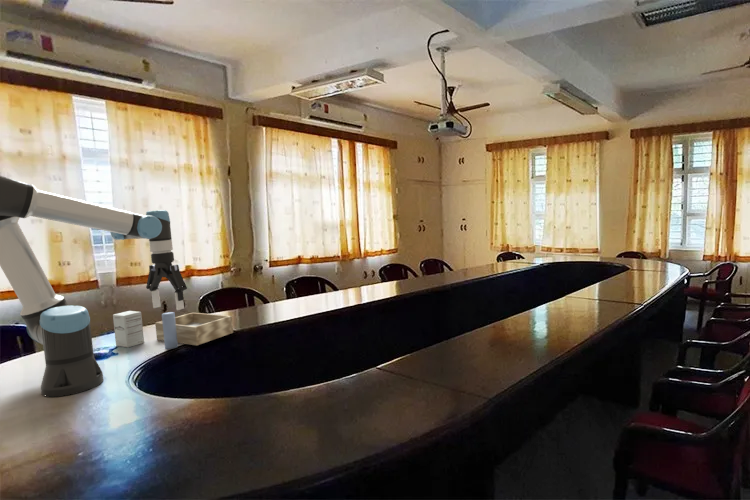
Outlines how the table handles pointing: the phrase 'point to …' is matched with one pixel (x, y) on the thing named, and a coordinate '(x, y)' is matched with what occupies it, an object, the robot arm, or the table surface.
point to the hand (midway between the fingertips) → (168, 308)
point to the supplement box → (128, 328)
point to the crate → (198, 328)
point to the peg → (169, 330)
